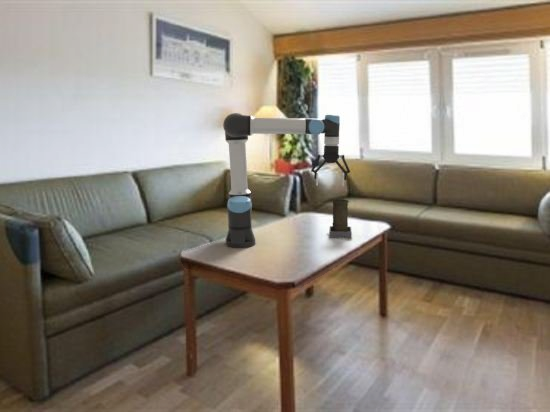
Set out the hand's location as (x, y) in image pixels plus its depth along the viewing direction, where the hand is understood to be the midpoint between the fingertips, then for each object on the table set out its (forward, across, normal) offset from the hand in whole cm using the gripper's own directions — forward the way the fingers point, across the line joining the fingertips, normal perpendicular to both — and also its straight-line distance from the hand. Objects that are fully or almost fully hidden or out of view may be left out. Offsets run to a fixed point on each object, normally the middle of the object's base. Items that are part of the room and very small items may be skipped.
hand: (330, 185), depth 243 cm
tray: (+26, +6, 0) cm, 27 cm away
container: (+26, +6, 0) cm, 27 cm away
